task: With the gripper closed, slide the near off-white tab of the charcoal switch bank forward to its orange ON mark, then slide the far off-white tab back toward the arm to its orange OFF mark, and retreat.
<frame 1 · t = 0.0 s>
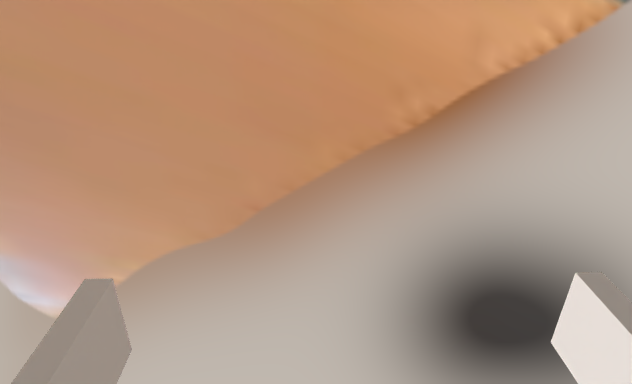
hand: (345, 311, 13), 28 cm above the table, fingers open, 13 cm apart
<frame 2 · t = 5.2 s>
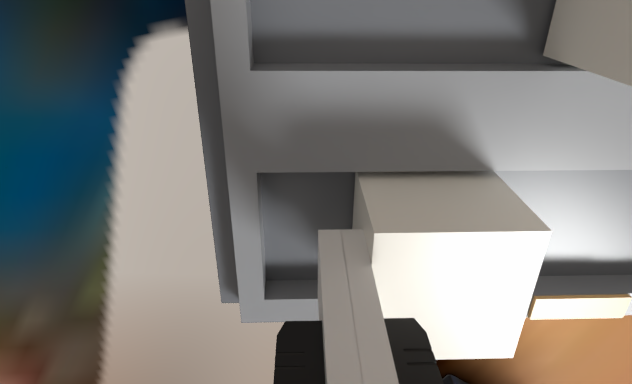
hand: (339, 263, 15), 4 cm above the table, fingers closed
dip bank: (498, 103, 16), on the table
tab a: (430, 258, 15), point 4 cm above the table, slide at 1.0 cm, touching gripper
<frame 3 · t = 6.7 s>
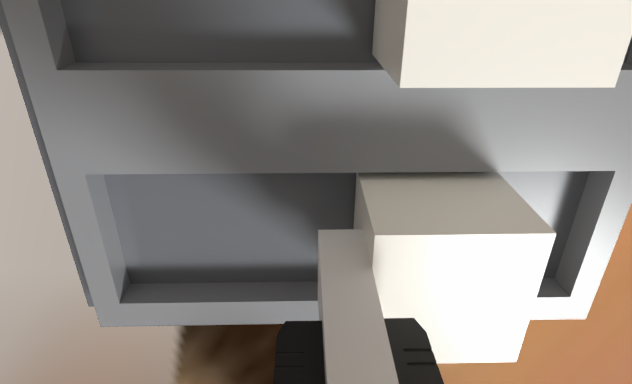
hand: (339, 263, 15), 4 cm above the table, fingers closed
dip bank: (349, 103, 16), on the table
tab a: (432, 260, 15), point 4 cm above the table, slide at 6.7 cm, touching gripper
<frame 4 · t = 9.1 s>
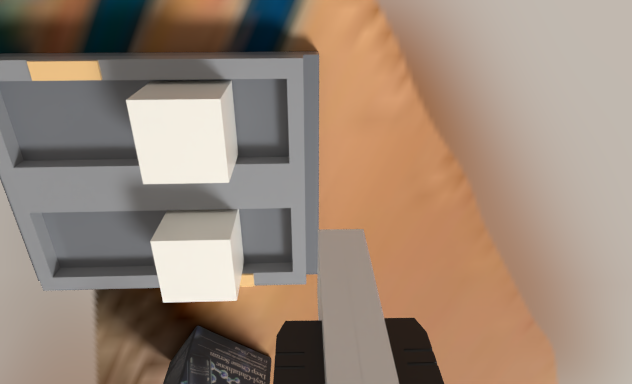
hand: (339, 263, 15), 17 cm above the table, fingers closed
tab b: (188, 130, 26), point 4 cm above the table, slide at 7.0 cm
dip bank: (166, 173, 31), on the table
tab a: (202, 252, 30), point 4 cm above the table, slide at 6.7 cm
box: (221, 356, 40), on the table
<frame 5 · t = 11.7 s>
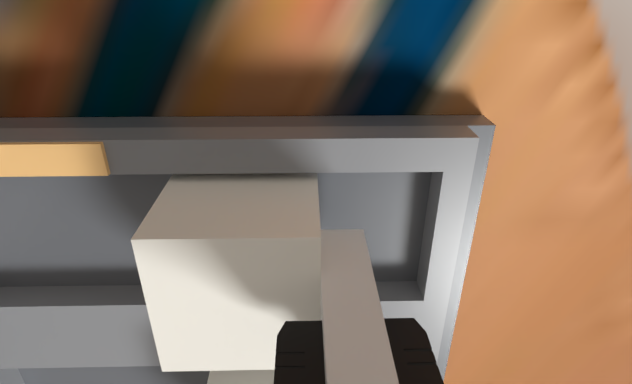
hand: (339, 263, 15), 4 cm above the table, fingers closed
tab b: (244, 264, 14), point 4 cm above the table, slide at 6.3 cm, touching gripper
dip bank: (211, 296, 20), on the table
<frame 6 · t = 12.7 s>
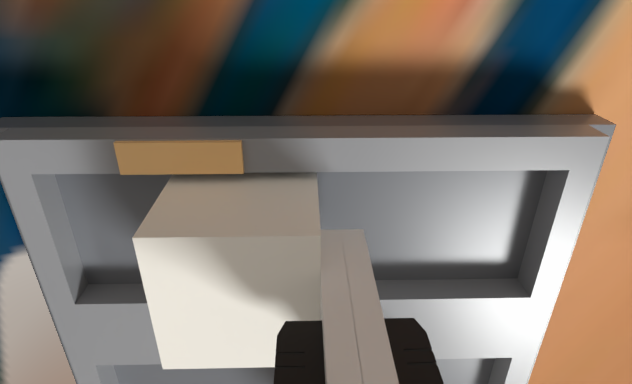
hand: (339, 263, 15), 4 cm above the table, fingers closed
tab b: (244, 262, 14), point 4 cm above the table, slide at 1.9 cm, touching gripper
dip bank: (305, 293, 20), on the table
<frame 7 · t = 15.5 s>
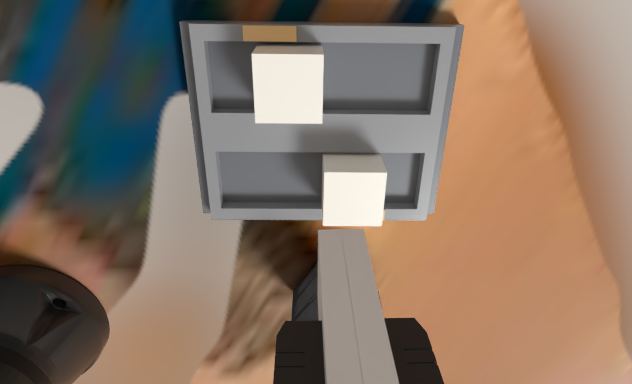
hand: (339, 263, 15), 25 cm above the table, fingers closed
tab b: (289, 82, 33), point 4 cm above the table, slide at 1.5 cm
dip bank: (320, 124, 38), on the table
tab a: (351, 187, 37), point 4 cm above the table, slide at 6.7 cm
box: (335, 289, 47), on the table
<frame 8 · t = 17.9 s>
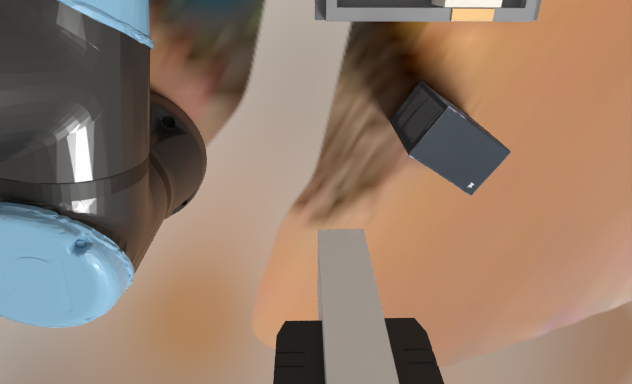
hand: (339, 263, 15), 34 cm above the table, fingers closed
box: (429, 118, 48), on the table
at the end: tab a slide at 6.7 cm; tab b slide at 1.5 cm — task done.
